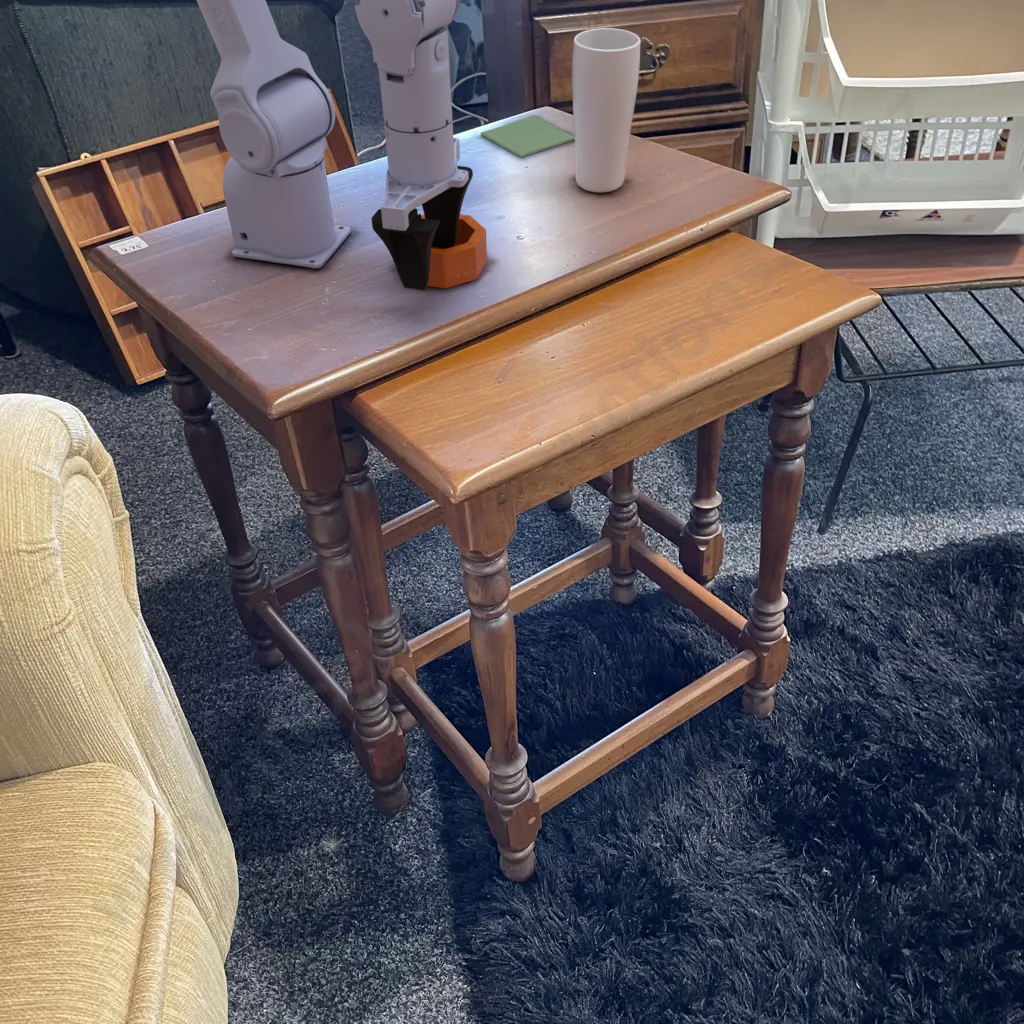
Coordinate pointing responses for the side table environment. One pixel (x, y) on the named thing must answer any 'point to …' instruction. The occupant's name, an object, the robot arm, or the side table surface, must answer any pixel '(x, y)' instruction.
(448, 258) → the ring
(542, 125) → the mat
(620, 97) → the drinking glass
